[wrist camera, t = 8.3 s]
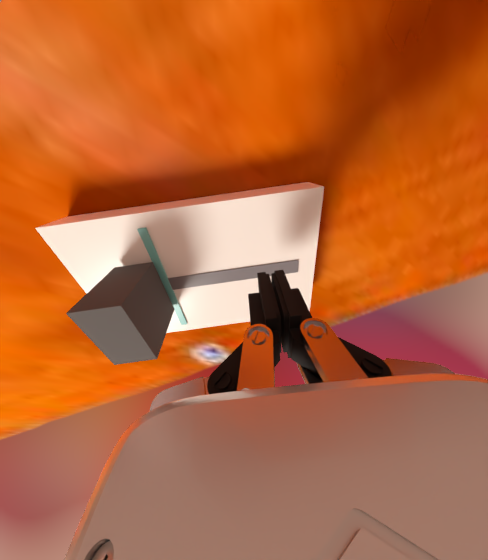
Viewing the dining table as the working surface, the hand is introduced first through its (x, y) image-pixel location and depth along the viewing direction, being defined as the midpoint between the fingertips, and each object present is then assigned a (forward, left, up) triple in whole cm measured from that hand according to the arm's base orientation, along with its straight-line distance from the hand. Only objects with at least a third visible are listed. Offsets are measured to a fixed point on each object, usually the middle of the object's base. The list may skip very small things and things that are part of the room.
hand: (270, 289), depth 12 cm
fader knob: (+10, +1, -3) cm, 11 cm away
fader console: (+5, +1, -7) cm, 9 cm away
